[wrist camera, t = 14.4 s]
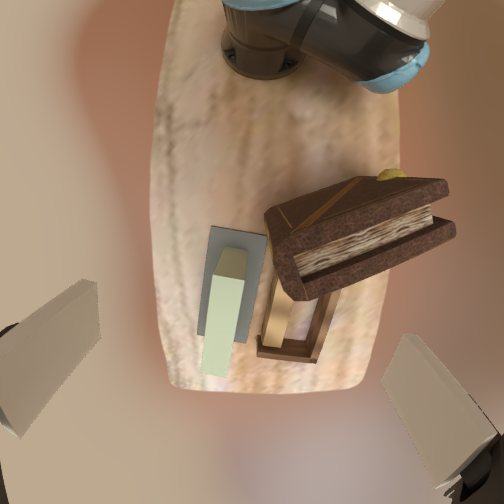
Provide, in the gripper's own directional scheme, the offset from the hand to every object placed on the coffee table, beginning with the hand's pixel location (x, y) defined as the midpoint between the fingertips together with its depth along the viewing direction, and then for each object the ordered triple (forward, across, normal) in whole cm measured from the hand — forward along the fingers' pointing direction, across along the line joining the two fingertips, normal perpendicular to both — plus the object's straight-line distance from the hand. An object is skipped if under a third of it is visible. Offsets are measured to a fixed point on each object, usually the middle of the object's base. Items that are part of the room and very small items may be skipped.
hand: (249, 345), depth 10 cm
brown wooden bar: (+39, +7, -14) cm, 42 cm away
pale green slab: (+38, -2, -14) cm, 40 cm away
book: (+39, +12, +4) cm, 41 cm away
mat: (+39, -2, -14) cm, 41 cm away
